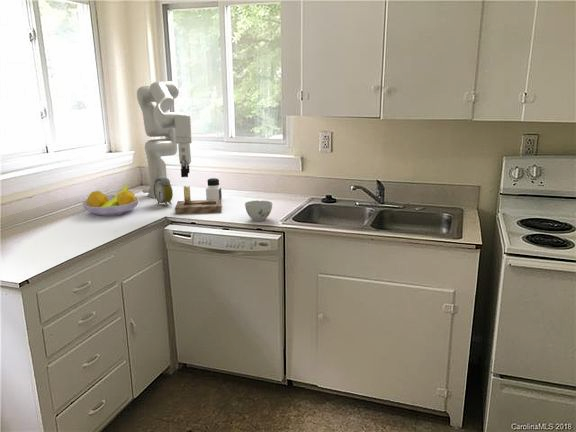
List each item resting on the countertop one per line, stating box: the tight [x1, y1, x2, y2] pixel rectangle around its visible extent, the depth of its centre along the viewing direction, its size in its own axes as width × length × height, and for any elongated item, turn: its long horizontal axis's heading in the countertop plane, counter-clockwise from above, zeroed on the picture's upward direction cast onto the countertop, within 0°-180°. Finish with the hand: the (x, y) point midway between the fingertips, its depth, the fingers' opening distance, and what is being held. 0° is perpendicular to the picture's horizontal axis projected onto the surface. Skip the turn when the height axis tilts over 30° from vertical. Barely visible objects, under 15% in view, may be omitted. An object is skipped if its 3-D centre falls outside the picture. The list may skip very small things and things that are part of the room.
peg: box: [183, 185, 192, 205], centre depth 238 cm, size 5×5×12 cm
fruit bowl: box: [81, 183, 139, 217], centre depth 236 cm, size 28×27×11 cm
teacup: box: [244, 200, 273, 222], centre depth 221 cm, size 15×12×8 cm
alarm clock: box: [154, 176, 174, 208], centre depth 248 cm, size 12×7×15 cm, turn 41°
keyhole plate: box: [174, 199, 222, 215], centre depth 239 cm, size 22×14×3 cm, turn 97°
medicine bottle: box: [205, 177, 223, 201], centre depth 257 cm, size 7×7×12 cm
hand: (185, 175), depth 235 cm, fingers open, 9 cm apart
